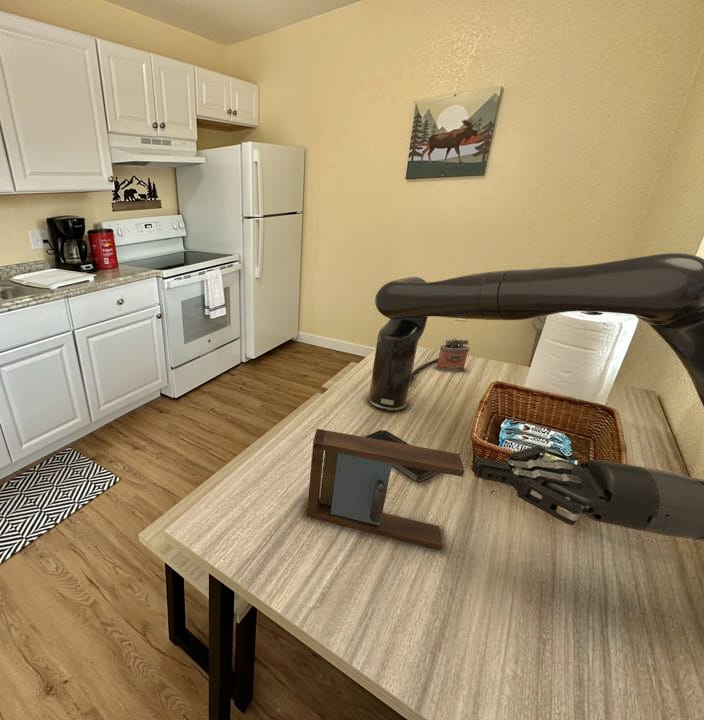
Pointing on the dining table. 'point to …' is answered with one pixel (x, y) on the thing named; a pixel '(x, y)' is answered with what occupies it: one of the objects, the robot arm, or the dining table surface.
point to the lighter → (453, 355)
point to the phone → (409, 471)
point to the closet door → (360, 488)
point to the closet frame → (381, 452)
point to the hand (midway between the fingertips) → (475, 467)
